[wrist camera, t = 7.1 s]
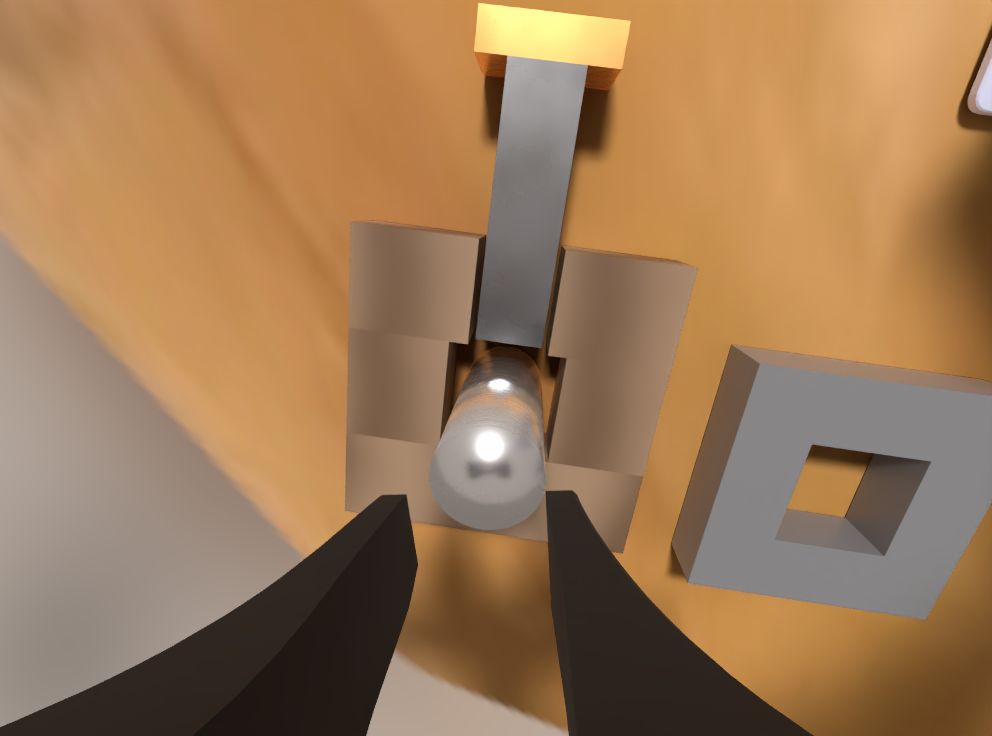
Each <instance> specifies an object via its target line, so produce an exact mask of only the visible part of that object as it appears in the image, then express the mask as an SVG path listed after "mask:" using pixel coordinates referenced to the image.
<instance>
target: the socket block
mask: <svg viewBox="0 0 992 736" xmlns="http://www.w3.org/2000/svg"><path fill="white" fill-rule="evenodd" d="M485 240H486V235H482V234H474V233H467V232H459V231H452V230H444V229H437V228H429V227H422V226H414V225H407V224H399V223H392V222H384V221H377V220H368V221H353V222H351V228H350V281H349V333H348V386H347V438H346V491H345V511H349V512H355V513H360V512H362V511H363V510H364V509H365V508H366V507H367V506H369V505H370V504H371V503H372V502H373V501H375V500H376V499H377V498H378V497H380V496H381V495H398V494H407V500H408V506H409V513H410V519H411V521H414V522H420V523H427V524H433V525H440V526H446V527H453V528H459V529H466V530H472V531H479V532H485V533H492V534H498V535H505V536H511V537H518V538H524V539H531V540H538V541H544V542H548V533H547V514H546V491H558V490H573V491H574V492H575V493H576V494H577V495H578V498H579V500H580V502H581V505H582V506H583V508H584V510H585V512H586V514H587V516H588V517H589V519H590V521H591V522H592V524H593V526H594V527H595V529H596V530H597V532H598V534H599V535H600V537H601V538H602V539H603V541H604V542H605V544H606V545H607V547H608V548H609V549H610V551H611V552H616V553H622V554H623V551H624V547H625V543H626V539H627V536H628V532H629V528H630V524H631V520H632V517H633V513H634V509H635V505H636V502H637V498H638V494H639V490H640V486H641V483H642V479H643V475H644V471H645V467H646V464H647V460H648V456H649V452H650V449H651V445H652V441H653V437H654V433H655V430H656V426H657V422H658V418H659V414H660V411H661V407H662V403H663V399H664V396H665V392H666V388H667V384H668V380H669V377H670V373H671V369H672V365H673V361H674V358H675V354H676V350H677V346H678V343H679V339H680V335H681V331H682V327H683V324H684V320H685V316H686V312H687V308H688V305H689V301H690V297H691V293H692V290H693V286H694V282H695V278H696V274H697V271H698V268H697V267H694V266H691V265H688V264H685V263H682V262H680V261H677V260H669V259H662V258H654V257H647V256H639V255H632V254H624V253H617V252H609V251H602V250H594V249H587V248H579V247H572V246H564V245H562V246H561V252H560V258H559V264H558V270H557V276H556V282H555V288H554V295H553V301H552V307H551V313H550V319H549V325H548V331H547V337H546V340H547V350H548V356H554V357H560V359H559V365H558V371H557V376H556V382H555V388H554V393H553V399H552V404H551V410H550V416H549V421H548V427H547V433H546V434H544V452H545V472H546V487H545V492H544V496H543V498H542V501H541V502H540V504H539V506H538V507H537V509H536V510H535V511H534V512H533V513H532V514H531V515H530V516H529V517H528V518H527V519H525V520H524V521H522V522H520V523H518V524H517V525H514V526H511V527H508V528H504V529H498V530H482V529H476V528H472V527H469V526H466V525H464V524H462V523H460V522H458V521H456V520H454V519H453V518H452V517H450V516H449V515H448V514H447V513H446V512H445V511H444V510H443V509H442V508H441V507H440V506H439V505H438V503H437V501H436V500H435V498H434V496H433V494H432V491H431V488H430V483H429V469H430V464H431V461H432V458H433V456H434V453H435V451H436V449H437V446H438V444H439V441H440V439H441V436H442V434H443V432H444V429H445V427H446V424H447V422H448V420H449V417H450V412H451V402H452V392H453V382H454V372H455V362H456V352H457V343H462V344H468V343H469V341H470V338H471V336H472V334H473V332H474V330H475V328H476V320H477V311H478V302H479V293H480V284H481V275H482V266H483V257H484V249H485Z"/></svg>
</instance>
